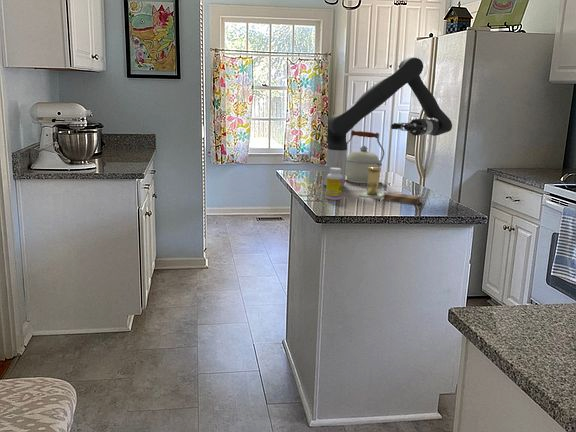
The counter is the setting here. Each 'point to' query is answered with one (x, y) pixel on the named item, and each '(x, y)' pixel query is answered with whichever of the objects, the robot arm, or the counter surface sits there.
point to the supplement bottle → (334, 184)
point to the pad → (372, 195)
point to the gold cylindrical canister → (373, 180)
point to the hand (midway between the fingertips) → (399, 127)
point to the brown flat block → (402, 198)
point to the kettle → (361, 160)
